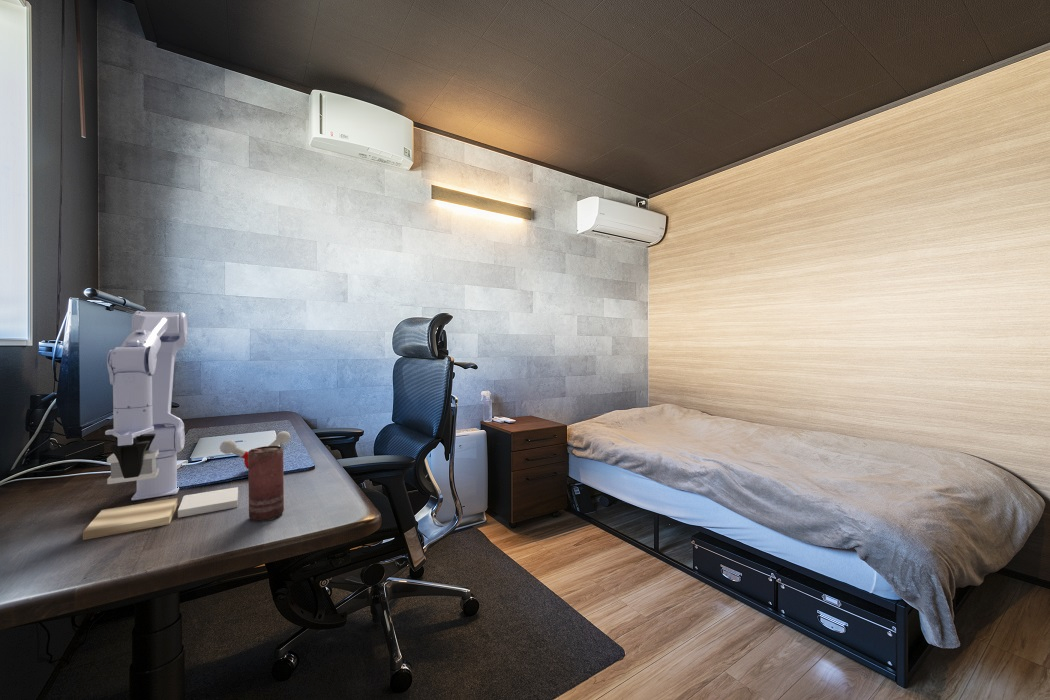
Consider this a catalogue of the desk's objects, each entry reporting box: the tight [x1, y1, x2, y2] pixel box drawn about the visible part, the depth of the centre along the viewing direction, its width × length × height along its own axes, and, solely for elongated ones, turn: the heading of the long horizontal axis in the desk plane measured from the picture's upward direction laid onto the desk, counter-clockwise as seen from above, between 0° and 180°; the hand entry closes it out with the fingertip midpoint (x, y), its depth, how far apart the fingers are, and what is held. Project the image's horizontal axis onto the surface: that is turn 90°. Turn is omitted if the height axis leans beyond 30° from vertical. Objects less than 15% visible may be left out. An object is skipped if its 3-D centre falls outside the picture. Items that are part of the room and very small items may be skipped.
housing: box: [106, 449, 159, 485], centre depth 84 cm, size 7×4×5 cm, turn 124°
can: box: [247, 445, 285, 523], centre depth 86 cm, size 6×6×14 cm
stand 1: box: [82, 497, 179, 541], centre depth 84 cm, size 12×12×2 cm
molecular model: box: [219, 430, 291, 470], centre depth 117 cm, size 18×6×10 cm, turn 145°
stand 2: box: [177, 486, 239, 518], centre depth 92 cm, size 10×10×2 cm
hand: (134, 474), depth 84 cm, fingers closed on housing, 4 cm apart
